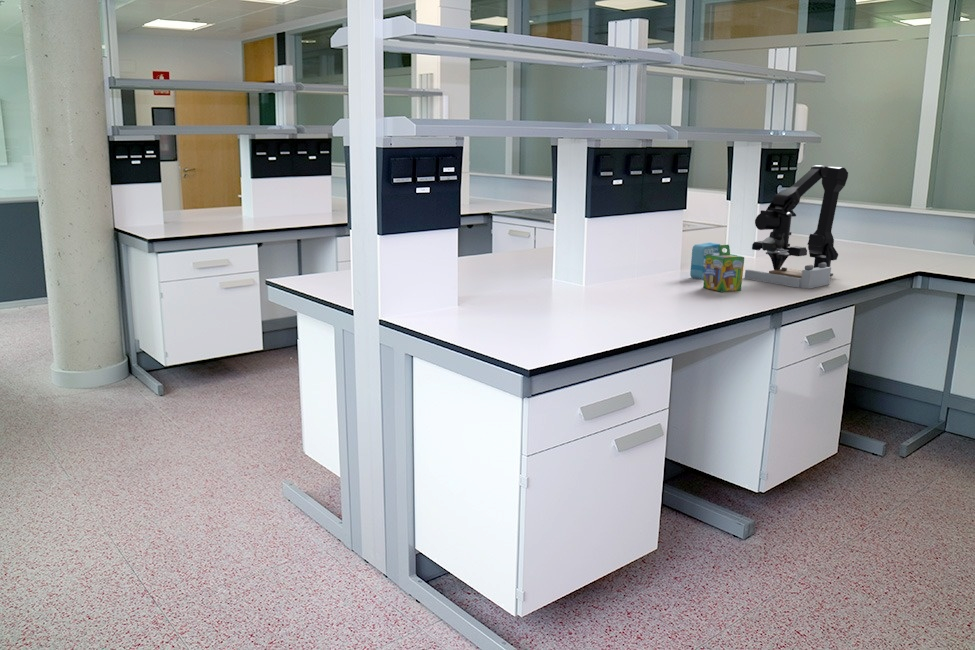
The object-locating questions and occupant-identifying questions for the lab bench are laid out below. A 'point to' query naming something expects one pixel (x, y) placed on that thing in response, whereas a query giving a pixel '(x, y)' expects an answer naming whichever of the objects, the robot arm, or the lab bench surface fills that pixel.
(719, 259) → the chalk box
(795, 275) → the door panel
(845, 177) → the robot arm
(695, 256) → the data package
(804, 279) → the block
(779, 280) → the guide rail
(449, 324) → the lab bench surface
